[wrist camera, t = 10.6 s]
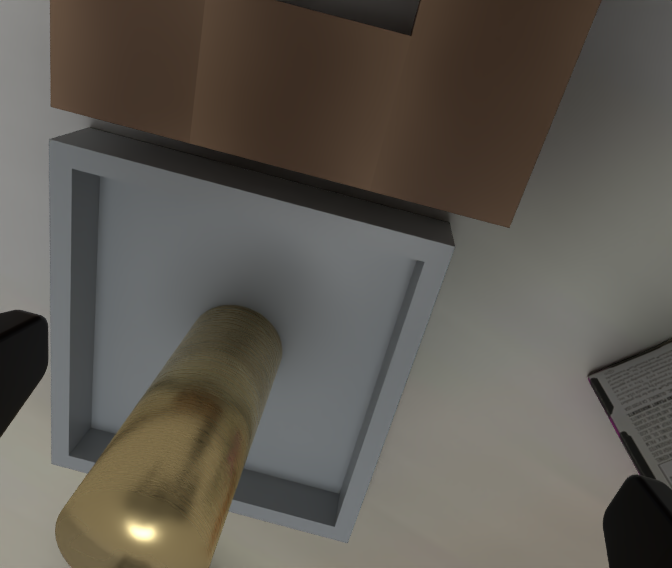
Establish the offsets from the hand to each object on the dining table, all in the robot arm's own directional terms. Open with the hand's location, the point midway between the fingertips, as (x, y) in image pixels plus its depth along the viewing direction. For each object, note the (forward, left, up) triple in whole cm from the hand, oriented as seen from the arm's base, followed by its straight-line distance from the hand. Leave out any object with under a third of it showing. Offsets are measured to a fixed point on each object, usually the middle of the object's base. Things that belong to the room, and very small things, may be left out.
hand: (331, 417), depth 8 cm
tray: (+4, +8, -13) cm, 16 cm away
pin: (+4, +8, -12) cm, 15 cm away
